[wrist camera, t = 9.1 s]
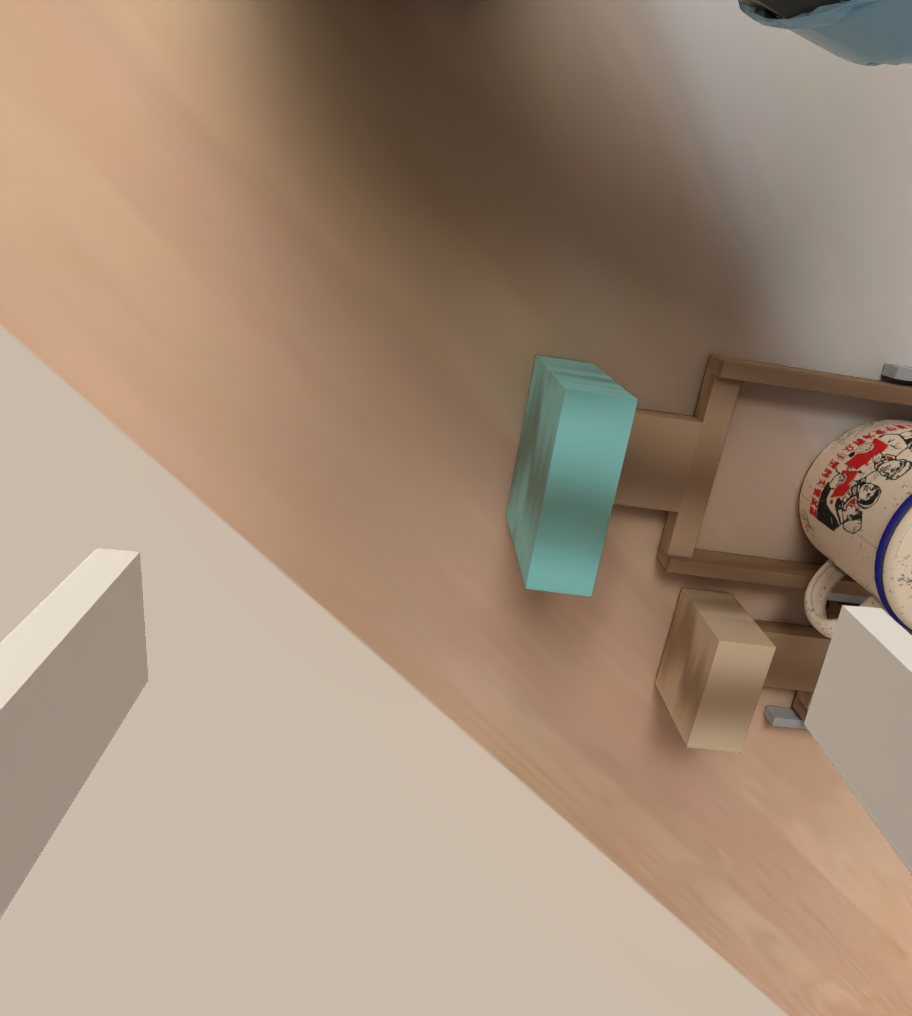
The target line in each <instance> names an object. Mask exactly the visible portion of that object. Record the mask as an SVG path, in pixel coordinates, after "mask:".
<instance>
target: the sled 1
mask: <svg viewBox="0 0 912 1016" xmlns="http://www.w3.org/2000/svg"><path fill="white" fill-rule="evenodd" d="M741 381H749V382H756V383H762V384H769V385H776V386H783V387H789V388H796V389H803V390H809V391H816V392H823V393H830V394H836V395H843V396H850V397H857V398H863V399H870V400H877V401H883V402H890V403H897V404H904V405H910V406H912V385H906V384H899V383H892V382H886V381H879V380H873V379H866V378H859V377H853V376H846V375H840V374H833V373H826V372H820V371H813V370H806V369H800V368H793V367H787V366H780V365H773V364H767V363H760V362H753V361H747V360H740V359H734V358H727V357H720V356H714V355H710V357H709V361H708V365H707V369H706V373H705V376H704V380H703V384H702V388H701V391H700V395H699V399H698V403H697V406H696V410H695V414H694V416H687V415H680V414H673V413H666V412H659V411H652V410H645V409H638V408H636V406H637V402H638V400H637V399H636V398H635V397H634V396H633V395H631V394H630V393H629V392H628V391H626V390H625V389H624V388H623V387H621V386H620V385H619V384H618V383H616V382H615V381H614V380H613V379H612V378H610V377H609V376H608V375H607V374H605V373H604V372H603V371H602V370H600V369H599V368H598V367H597V366H595V365H594V364H593V363H588V362H581V361H574V360H568V359H561V358H554V357H547V356H541V355H536V358H535V363H534V368H533V374H532V379H531V384H530V390H529V395H528V401H527V406H526V411H525V417H524V422H523V428H522V433H521V438H520V444H519V449H518V455H517V460H516V465H515V471H514V476H513V482H512V487H511V492H510V498H509V503H508V508H507V514H506V518H507V521H508V525H509V529H510V533H511V536H512V540H513V544H514V548H515V551H516V555H517V559H518V563H519V566H520V570H521V574H522V578H523V581H524V585H525V589H532V590H540V591H548V592H556V593H564V594H573V595H581V596H589V597H591V596H592V592H593V587H594V583H595V579H596V575H597V571H598V566H599V562H600V558H601V554H602V549H603V545H604V541H605V537H606V533H607V528H608V524H609V520H610V516H611V512H612V507H613V504H619V505H627V506H634V507H642V508H649V509H657V510H664V511H669V512H668V516H667V520H666V523H665V527H664V531H663V535H662V538H661V542H660V546H659V550H658V554H657V558H658V560H659V561H660V563H661V564H662V566H663V567H664V569H665V570H666V571H667V572H670V573H678V574H686V575H694V576H702V577H710V578H718V579H726V580H734V581H742V582H750V583H758V584H766V585H774V586H782V587H790V588H798V589H807V586H808V584H809V582H810V580H811V579H812V577H813V576H814V575H815V573H816V572H817V571H818V570H819V569H820V568H821V567H822V566H823V565H816V564H809V563H801V562H793V561H785V560H778V559H770V558H762V557H754V556H746V555H739V554H731V553H723V552H715V551H708V550H700V549H694V548H695V544H696V540H697V537H698V533H699V530H700V526H701V523H702V519H703V516H704V512H705V509H706V505H707V502H708V498H709V495H710V491H711V487H712V484H713V480H714V477H715V473H716V470H717V466H718V463H719V459H720V456H721V452H722V449H723V445H724V442H725V438H726V434H727V431H728V427H729V424H730V420H731V417H732V413H733V410H734V406H735V403H736V399H737V396H738V392H739V389H740V385H741ZM830 593H838V594H846V595H854V596H862V597H869V596H870V595H871V593H870V592H868V591H867V590H866V589H865V588H864V587H862V586H861V585H860V584H859V583H857V582H856V581H855V580H854V579H853V578H851V577H850V576H849V575H848V574H846V575H845V576H844V577H843V578H842V579H841V580H840V581H839V582H838V583H837V584H836V585H835V586H834V588H833V589H832V590H831V592H830Z"/></svg>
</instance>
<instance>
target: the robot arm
mask: <svg viewBox="0 0 912 1016" xmlns="http://www.w3.org/2000/svg"><path fill="white" fill-rule="evenodd" d="M738 1H739V6H740V9H741V10H742V11H743V12H744V13H745V14H747V15H748V16H749V17H751V18H752V19H753V20H755V21H757V22H759V23H761V24H763V25H766V26H771V27H777V28H784V29H789V30H791V31H793V32H794V33H796V34H798V35H800V36H802V37H804V38H805V39H807V40H809V41H811V42H813V43H814V44H816V45H818V46H820V47H822V48H824V49H825V50H827V51H829V52H831V53H833V54H835V55H836V56H838V57H840V58H843V59H845V60H847V61H850V62H853V63H857V64H861V65H866V66H875V65H880V64H891V65H898V64H912V0H738ZM147 681H148V669H147V653H146V638H145V623H144V608H143V593H142V577H141V563H140V552H137V551H135V552H134V551H122V550H110V549H95V550H94V551H93V552H92V553H91V555H89V557H87V558H86V559H85V560H84V561H83V562H82V563H81V564H80V565H79V566H78V567H77V568H76V569H75V570H74V571H73V572H72V573H71V574H70V575H69V576H68V577H67V578H66V579H65V580H64V581H63V582H62V583H61V584H60V585H59V586H58V587H57V588H56V589H55V590H54V591H53V592H52V593H51V594H50V595H49V596H48V597H47V598H45V599H44V600H43V601H42V602H41V603H40V604H39V605H38V606H37V607H36V608H35V609H34V610H33V611H32V612H31V613H30V614H29V615H28V616H27V617H26V618H25V619H24V620H23V621H22V622H21V623H20V624H19V625H18V626H17V627H16V628H15V629H14V630H13V631H12V632H11V633H10V634H9V635H8V636H7V637H6V638H5V639H4V640H3V641H2V642H1V643H0V918H1V917H2V915H3V914H4V912H5V910H6V909H7V907H8V905H9V904H10V902H11V900H12V899H13V897H14V896H15V894H16V892H17V891H18V889H19V888H20V886H21V885H22V883H23V881H24V880H25V878H26V876H27V875H28V873H29V872H30V870H31V868H32V867H33V865H34V863H35V862H36V860H37V859H38V857H39V855H40V854H41V852H42V851H43V849H44V847H45V846H46V844H47V843H48V841H49V839H50V838H51V836H52V835H53V833H54V831H55V830H56V828H57V826H58V825H59V823H60V822H61V820H62V818H63V817H64V815H65V814H66V812H67V810H68V809H69V807H70V806H71V804H72V802H73V801H74V799H75V798H76V796H77V794H78V793H79V791H80V789H81V788H82V786H83V785H84V783H85V781H86V780H87V778H88V777H89V775H90V773H91V772H92V770H93V769H94V767H95V765H96V764H97V762H98V760H99V759H100V757H101V756H102V754H103V752H104V751H105V749H106V748H107V746H108V744H109V743H110V741H111V740H112V738H113V736H114V735H115V733H116V731H117V730H118V728H119V726H120V725H121V723H122V722H123V720H124V719H125V717H126V715H127V714H128V712H129V711H130V709H131V707H132V706H133V704H134V702H135V701H136V699H137V698H138V696H139V694H140V693H141V691H142V689H143V688H144V686H145V685H146V683H147ZM804 725H805V726H806V728H807V729H808V731H809V732H810V733H811V735H812V736H813V738H814V739H815V740H816V742H817V743H818V745H819V746H820V747H821V749H822V750H823V752H824V753H825V754H826V756H827V757H828V759H829V760H830V761H831V763H832V764H833V766H834V767H835V768H836V770H837V771H838V773H839V774H840V775H841V777H842V778H843V780H844V781H845V782H846V784H847V785H848V787H849V788H850V789H851V791H852V792H853V794H854V795H855V796H856V798H857V799H858V801H859V802H860V803H861V805H862V806H863V808H864V809H865V810H866V812H867V813H868V815H869V816H870V817H871V819H872V820H873V822H874V823H875V824H876V826H877V827H878V828H879V830H880V831H881V833H882V834H883V835H884V837H885V838H886V840H887V841H888V842H889V844H890V845H891V847H892V848H893V849H894V851H895V852H896V854H897V855H898V856H899V858H900V859H901V861H902V862H903V863H904V865H905V866H906V868H907V869H908V870H909V872H910V873H911V875H912V635H911V634H909V633H908V632H907V631H906V630H905V629H904V628H903V627H902V626H901V625H899V624H898V623H897V622H896V621H895V620H894V619H893V618H892V617H890V616H889V615H888V614H887V613H886V612H885V611H884V610H883V609H881V608H872V607H859V606H846V605H842V608H841V611H840V614H839V617H838V620H837V623H836V626H835V629H834V633H833V636H832V639H831V642H830V645H829V648H828V651H827V654H826V657H825V660H824V663H823V666H822V669H821V673H820V676H819V679H818V682H817V685H816V688H815V691H814V694H813V697H812V700H811V703H810V706H809V709H808V713H807V716H806V719H805V722H804Z"/></svg>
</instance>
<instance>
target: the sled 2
mask: <svg viewBox="0 0 912 1016" xmlns="http://www.w3.org/2000/svg"><path fill="white" fill-rule="evenodd" d="M842 605H846V606H859V605H860V604H856V603H848V602H840V601H832V600H830V603H829V605H828V608H827V611H826V617H827V619H829V620H830V619H837V618H838V617H839V614H840V611H841V608H842ZM888 615H889V616H890V617H892V616H891V615H890V614H889V613H888ZM892 618H893V617H892ZM893 619H894V618H893ZM894 620H895V619H894ZM895 621H896V620H895ZM896 622H897V621H896ZM897 623H898V622H897ZM898 624H899V623H898ZM899 625H900V624H899ZM901 626H902V625H901ZM902 627H903V626H902ZM903 628H904V629H905V630H906V631H907V632H908V633H909V634H911V635H912V631H910V630H908V629H906V628H905V627H903ZM830 642H831V638H828V637H826V636H824V635H823V634H821V633H820V632H819V631H818V630H817V629H815V628H814V627H809V626H800V625H792V624H784V623H776V622H768V621H759V620H753V619H752V618H751V617H750V615H749V614H748V613H747V612H746V611H745V609H744V608H743V607H742V606H741V605H740V603H739V602H738V601H737V600H736V599H735V597H734V596H733V595H732V594H729V593H721V592H713V591H705V590H697V589H689V588H682V590H681V593H680V597H679V601H678V604H677V608H676V611H675V615H674V618H673V622H672V625H671V629H670V632H669V636H668V640H667V643H666V647H665V650H664V654H663V657H662V661H661V664H660V668H659V671H658V675H657V678H656V682H655V685H656V687H657V689H658V691H659V693H660V695H661V697H662V699H663V701H664V703H665V705H666V707H667V709H668V711H669V713H670V715H671V717H672V719H673V721H674V723H675V725H676V727H677V729H678V731H679V733H680V735H681V737H682V739H683V741H684V743H685V745H686V747H689V748H698V749H708V750H717V751H727V752H736V753H740V752H741V749H742V746H743V743H744V740H745V737H746V734H747V731H748V728H749V725H750V722H751V719H752V716H753V713H754V711H755V708H756V705H757V702H758V699H759V696H760V693H761V690H762V687H772V688H781V689H790V690H798V691H797V694H796V697H795V700H794V703H793V705H792V707H793V708H794V709H795V711H796V712H797V713H798V714H799V716H800V717H801V718H802V720H803V721H804V722H805V719H806V716H807V713H808V709H809V706H810V703H811V700H812V697H813V694H814V691H815V688H816V685H817V682H818V679H819V676H820V673H821V669H822V666H823V663H824V660H825V657H826V654H827V651H828V648H829V645H830Z"/></svg>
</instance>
